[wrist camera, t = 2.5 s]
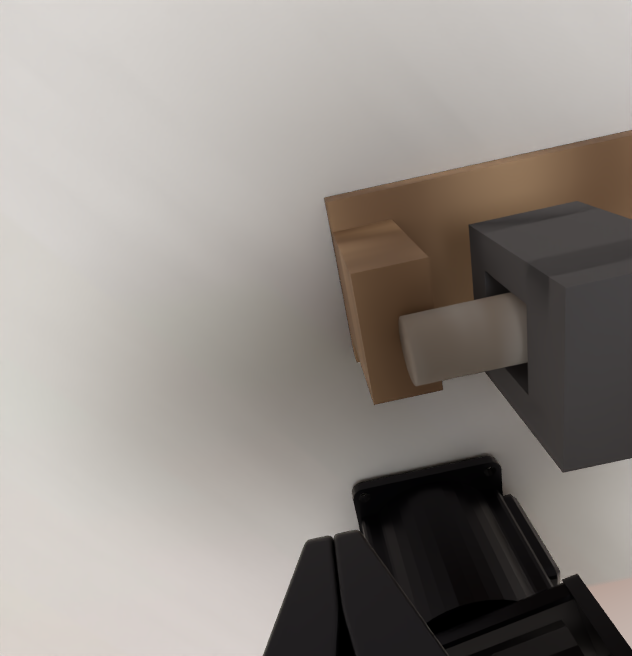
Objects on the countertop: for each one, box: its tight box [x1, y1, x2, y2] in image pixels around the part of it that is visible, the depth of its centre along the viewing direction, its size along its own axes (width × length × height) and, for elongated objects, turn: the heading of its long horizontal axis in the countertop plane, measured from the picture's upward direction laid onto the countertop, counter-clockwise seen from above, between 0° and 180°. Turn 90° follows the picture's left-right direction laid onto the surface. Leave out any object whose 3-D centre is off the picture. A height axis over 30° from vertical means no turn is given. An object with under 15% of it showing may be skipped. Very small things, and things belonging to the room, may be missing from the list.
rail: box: [324, 130, 632, 405], centre depth 15 cm, size 16×6×7 cm, turn 101°
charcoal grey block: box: [469, 201, 632, 472], centre depth 12 cm, size 3×4×5 cm
